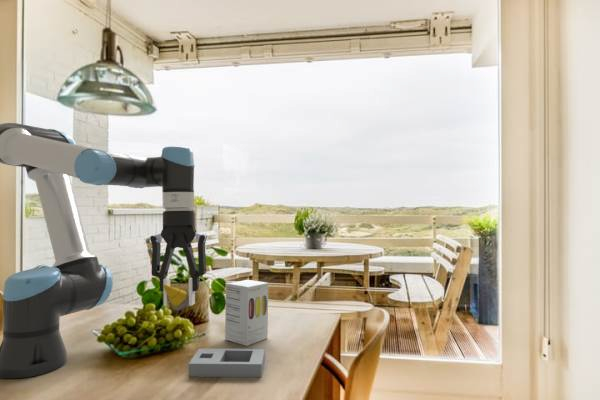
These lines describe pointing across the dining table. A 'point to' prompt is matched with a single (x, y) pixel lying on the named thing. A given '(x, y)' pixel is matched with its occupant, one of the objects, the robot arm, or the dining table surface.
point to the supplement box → (246, 312)
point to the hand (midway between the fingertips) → (179, 304)
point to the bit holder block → (227, 363)
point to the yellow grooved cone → (177, 297)
